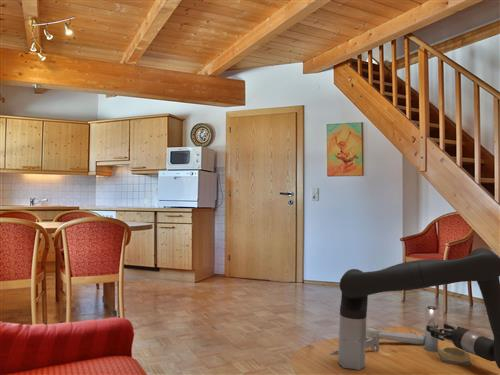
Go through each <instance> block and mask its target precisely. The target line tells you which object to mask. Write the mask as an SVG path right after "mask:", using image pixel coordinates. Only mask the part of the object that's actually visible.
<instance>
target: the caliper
mask: <svg viewBox="0 0 500 375" xmlns="http://www.w3.org/2000/svg"><path fill="white" fill-rule="evenodd" d="M372 338H373V339H369V340H366V347H365V349H368V348H369V347H370V348H371V351H372V352H376V351H377V352H380V339H379V340H378V338H377V337H376V335H375V336H374V337H373V336H372ZM374 344H375V345H374ZM375 350H376V351H375ZM329 354H330V355H331V356H332V355H334V354H335V355H339V348H337V349H334V350H333V351H332V352H330V353H329Z"/></svg>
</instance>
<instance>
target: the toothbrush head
mask: <svg viewBox="0 0 500 375" xmlns="http://www.w3.org/2000/svg"><path fill="white" fill-rule="evenodd" d="M375 335H376V337H377V338H378V340H379V341H380V340H387V341H393V342H399V343H407V344H413V345H414V346H415V345H417V346H418V345H419V346H421V345H422V346H424V334H420V333H419V334H418V333H416V332H413V333H410V332H409V333H408V332H401V331H400V332H397V331H390V330H389V331H386V330H377V329H375V328H373V327H372V328H371V327H369V328H366V340H369V339H373V338H372V336H373V337H374V336H375ZM374 346H376V345H375V344H374Z"/></svg>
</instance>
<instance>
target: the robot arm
mask: <svg viewBox="0 0 500 375" xmlns="http://www.w3.org/2000/svg"><path fill="white" fill-rule="evenodd" d="M462 282H463V283H465V282H477V285H478V287H479V291H480V292H481V296H482V300H483V302H484V303H483V304H484V307H485V311H486V315H487V319H488V322H489V325H490V328H491V329H490V330H491V332H492V336H493V339H492V338H489V337H488V336H487V337H486V336H484V335H482V334H481V333H478V332H475V331H474V330H470V329H468V328H465V327H462V326H460V325H459V326H456V325H454V326H452V325H449V324H447V323H443V327H440V328H438V329H437V328H434V327H431V326H429V325H427V326H426V330H427V331H428V332H430V336H432V337H434V338H437V339H438V341H442V342H443V341H445V340H448V341H450V342H452V344H453V345H454V347H456V348H460V349H462V350H464V351H466V352H468V353H469V354H470V355H474V356H477V357H478V358H482V359H483V360H486V361H489V362H494V363H495V364H496V366H497V368H498V369H499V370H500V256H499V255H498V254H496V253H495V252H494V251H492V250H490V249H488V248H486V247H478V248H475V249H473V250H472V251H471V252H469V255H468V256H466V257H461V258H456V259H435V258H434V259H432V258H431V259H430V258H428V259H418V260H417V259H416V260H412V261H404V262H400V263H398V264H394V265H391V266H388V267H386V268H383V269H379V270H372V271H361V270H360V269H357V268H351V269H348V270H347V271H345V273H344V274H343V275H342V276H341V278H340V280H339V290H340V291H341V298H340V299H341V300H340V306H339V326H338V327H339V328H338V333H339V334H338V349H339V354H338V357H337V358H338V359H337V360H338V361H337V363H338V364H339V365H340V366H341V368H342V369H343V368H344V369H351V370H357V371H361V369H363V368H365V366H366V348H365V347H366V332H367V317H368V316H367V312H368V301H369V300H368V298H369V296H370V295H375V294H378V293H379V294H380V293H385V292H387V293H388V292H400V291H411V290H419V289H425V288H430V287H439V286H443V285H448V284H455V283H462Z"/></svg>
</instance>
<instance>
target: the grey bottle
mask: <svg viewBox="0 0 500 375" xmlns="http://www.w3.org/2000/svg"><path fill="white" fill-rule="evenodd" d="M439 318H440V309H439V308H437V307H436V306H433V305H428V306H427V307H425V308H424V332H423V333H424V334H423V336H424V345H423V348H424V350H426V351H428V352H434V353H435V352H438V350H439V339H437V338H434V337H432V336H430V332H428V331H427V330H426V326H427V325H429V326H431V327H434V328H437V329H439Z"/></svg>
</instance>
